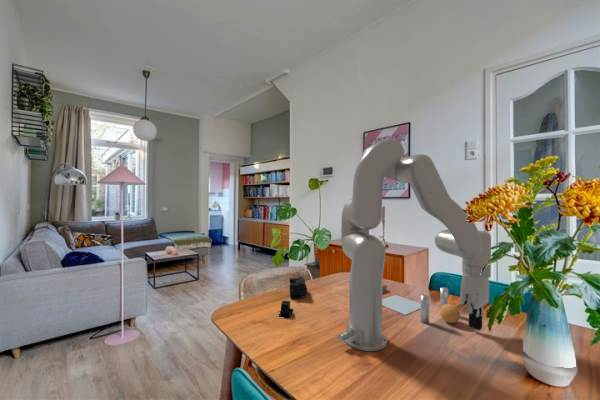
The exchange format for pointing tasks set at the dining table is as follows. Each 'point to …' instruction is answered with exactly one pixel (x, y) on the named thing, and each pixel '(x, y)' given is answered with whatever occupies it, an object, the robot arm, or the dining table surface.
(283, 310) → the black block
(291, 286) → the end cap
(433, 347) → the dining table surface
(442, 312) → the ball
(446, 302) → the right post
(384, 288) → the stopper wall
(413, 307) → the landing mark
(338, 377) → the dining table surface
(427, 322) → the left post
